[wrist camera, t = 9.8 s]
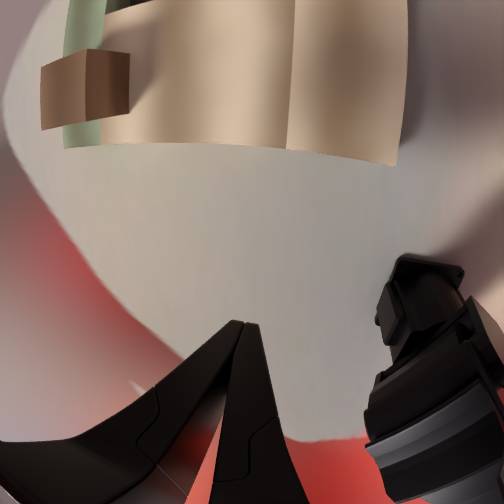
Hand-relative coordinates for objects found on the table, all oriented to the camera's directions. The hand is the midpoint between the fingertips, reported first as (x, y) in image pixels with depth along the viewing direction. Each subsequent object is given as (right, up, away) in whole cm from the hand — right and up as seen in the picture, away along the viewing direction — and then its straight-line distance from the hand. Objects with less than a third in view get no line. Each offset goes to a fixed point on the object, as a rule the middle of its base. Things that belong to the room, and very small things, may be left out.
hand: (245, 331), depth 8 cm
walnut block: (-9, +13, +5) cm, 17 cm away
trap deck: (-2, +17, +5) cm, 18 cm away
